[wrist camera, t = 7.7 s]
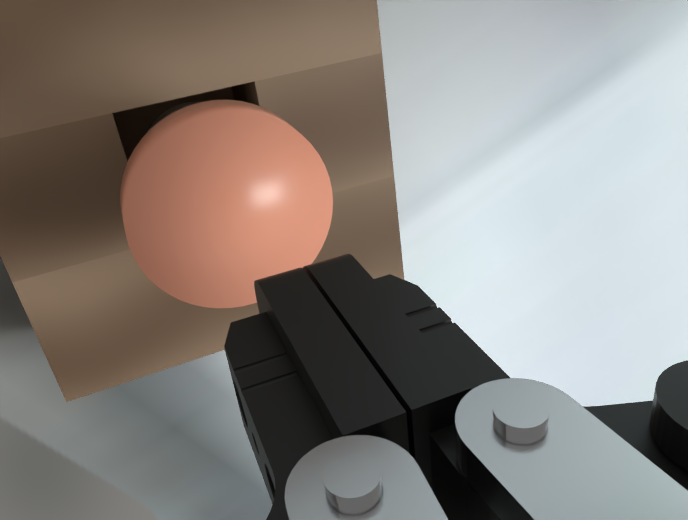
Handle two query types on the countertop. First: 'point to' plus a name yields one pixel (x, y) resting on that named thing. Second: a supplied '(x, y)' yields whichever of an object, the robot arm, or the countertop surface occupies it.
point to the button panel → (130, 127)
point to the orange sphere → (223, 201)
